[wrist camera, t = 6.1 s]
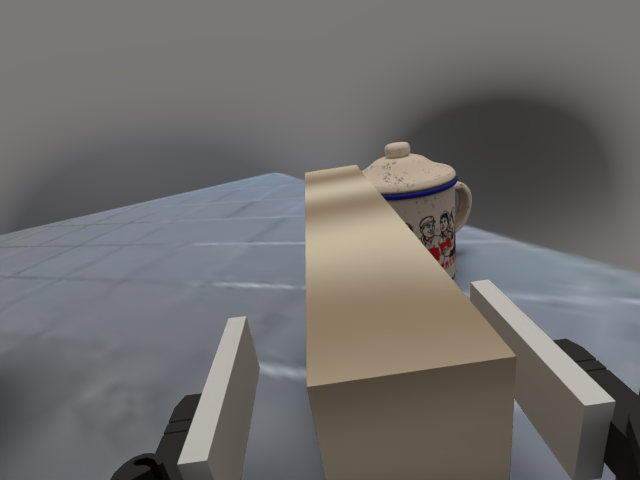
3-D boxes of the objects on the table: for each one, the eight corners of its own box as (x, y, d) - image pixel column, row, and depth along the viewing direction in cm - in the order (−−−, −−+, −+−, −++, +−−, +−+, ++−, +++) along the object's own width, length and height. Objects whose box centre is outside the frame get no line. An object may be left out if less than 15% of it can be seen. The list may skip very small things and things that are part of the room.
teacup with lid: (392, 310, 28) (378, 159, 24) (340, 269, 36) (323, 151, 32) (507, 265, 32) (513, 128, 28) (437, 237, 40) (433, 127, 36)
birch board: (495, 732, 9) (516, 355, 5) (380, 747, 9) (306, 386, 5) (375, 336, 25) (356, 164, 21) (332, 343, 25) (305, 172, 21)
